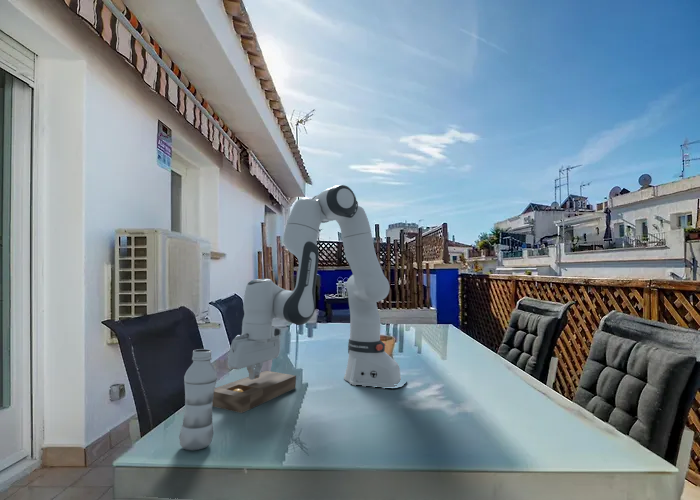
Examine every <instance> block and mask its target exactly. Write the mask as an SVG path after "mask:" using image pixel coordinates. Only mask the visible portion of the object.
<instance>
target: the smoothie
mask: <svg viewBox="0 0 700 500" xmlns="http://www.w3.org/2000/svg"><path fill="white" fill-rule="evenodd" d="M273 360H274V359H272V360H268V361H265V362H263V366H262V369H261V371H260V373H261V372H264V371H271V372H272V365H273Z"/></svg>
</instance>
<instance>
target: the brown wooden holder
mask: <svg viewBox="0 0 700 500" xmlns="http://www.w3.org/2000/svg"><path fill="white" fill-rule="evenodd" d="M296 381H297V375H293V374H288V373H283V372H276V371H272V370H271V371H264V372H261V371H260V377H259V378H256V379H253V380H251V379H249V376H246V377H244V378H241V379H238V380H235V381H231V382H229V383H225V384H222V385H220V386H216V387H215V390H214V396H213V401H212V402H213V404H212V408H213V407H214V408H218V409H223V410H226V411H231V412H235V413H239V414H242V413H245V412H247V411H249V410H251V409H254V408H255V407H258V406H260V405H262V404H264V403H267V402H269V401H272V400H273V399H275V398H277V397H279V396H282V395H284V394H286V393H288V392H290V391H292V390H295V389H296V387H297V386H296ZM235 389H242V390H243V392H237V391H233V390H235Z"/></svg>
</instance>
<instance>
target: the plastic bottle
mask: <svg viewBox="0 0 700 500" xmlns="http://www.w3.org/2000/svg"><path fill="white" fill-rule="evenodd" d="M212 359H213V357H212V349H207V348H199V349H194V350H193V351H192V357H191V361H192V363H191V364H190V366H189V367H188V369H187V370H185V371H186V372H185V374H184V376H183V379H184V381H183V384H184V394H185V395H184V399H185V400H184V402H185V403H184V413H183V418H182V425H181V428H180V431H179V435H178V436H179V437H178V438H179V444H180V446H181V447H182V449H183V450H186V451H199V450H203V449H205V448H207V447H208V446H210V444H211V442H212V441H213V438H214V432H215V431H214V424H213V406H212V404H213V402H212V401H213V396H214V390H215V388H216V384H217V379H218V373H217V369H216V368H215V366H214V365H213V364H212V362H211V361H212Z"/></svg>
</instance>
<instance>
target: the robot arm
mask: <svg viewBox="0 0 700 500" xmlns="http://www.w3.org/2000/svg"><path fill="white" fill-rule="evenodd" d="M333 221H335V222H337V224H338V226H339V229H340V234H341V239H342V244H343V250H344V251H343V252H344V254H345V260H346V261H347V263H348V266H349V268H350V270H351V272H352V274H351V275H350V276H349V278H348V279H347V281H346V284H345V286H346V291H347V297H348V298H347V301H348V307H349V308H348V309H349V315H350V316H349V317H350V318H349V319H350V320H349V321H350V325H349V339H348V342H347V343H348V344H347V353H348V358H347V365H346V369H345V373H344V376H343V380H345V381H347V382H349V384H350V385H351V384H352V385H351V386H356V385H362V386H361V387H366V386H377V387H395V386H397V385H394V384H398V383H399V382H400V380H401V377H402V375H401V369H400V365H399V363H398V362H397V361H396V360H394V358H393V357H391V356H390V355H389V354H388V353H387V352H386V351H385V348H386V346H387V345H386V344H387V342H383V341H382V340H381V322H382V321H381V316H380V314H379V309H378V304H377V302H381V301H383V300H385V299H386V298H387V297H388V295H389V294H390V289H391V287H390V282H389V280H388V279H387V277H386V276H385V274H384V271H383V269H382V267H381V265H380V262H379V260H378V256H377V254H376V249H375V246H374V240H373V234H372V231H371V225H370V222H369V219H368V217H367V213H366V211H365V209H364V208H363V207H362V206H360V205H359V203H358V201H357V198H356V194H355V193H354V191H353V190H352V189H351V188H350V187H349V186H347V185H344V184H343V185H342V184H337V185H334V186H332V187H329V188H327V189H324V190H322V191H321V192H320V193H318V194H317V195H314V196H313V197H312V198H309V197H302V198H299V199H297V200H296V202H294V205H293V207H292V209H291V211H290V214H289V216H288V218H287V221H286V226H285V228H284V233H283V244H284V246H285V248H286V249H287V251H288V252H289V253H291V254H293V255H294V256H295V257H296V258H297V261H298V268H297V274H296V282H295V287H294V289H293V290H289V289H285V288H282V287H280V285H278V284H276V283H275V282H274V281H273V280H272V279H270V278H258V279H257V278H256V279H253V280H250V281H248V282H247V284H246V286H245V290H244V296H243V305H242V308H243V309H242V310H243V313H244V315H243V318H242V320H241V321H242V322H241V324H242V325H241V334H237V335H236V336H235V337H234V338H233V339H232V341H231V344H230V347H229V353H228V358H227V367H228V368H229V369H231V370H242V369H243V368H246V370H247V372H248V377H249V379H251V380H253V379H256V378H259V377H260V373H261V369H262V366H263V362H265V361H268V360H272V359H273V360H275V359H278V357H279V355H280V352H281V338H280V337H281V334H282V330H281V328H280V327H276V326H274V325H273V319H276V320H280V321H284V322H288V323H291V324H294V325H295V326H296V325H297V326H301V325H304V324H306V323H308V322H309V321H310V320H311V319H312V317H313V316H314V313H315V310H316V293H315V292H316V286H317V285H316V284H317V276H318V268H319V259H320V257H319V256H320V253H319V252H320V251H319V247H318V246H317V242H318V235H319V231H320V226H321V224H324V223H328V222H333ZM273 360H272V361H273Z"/></svg>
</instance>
